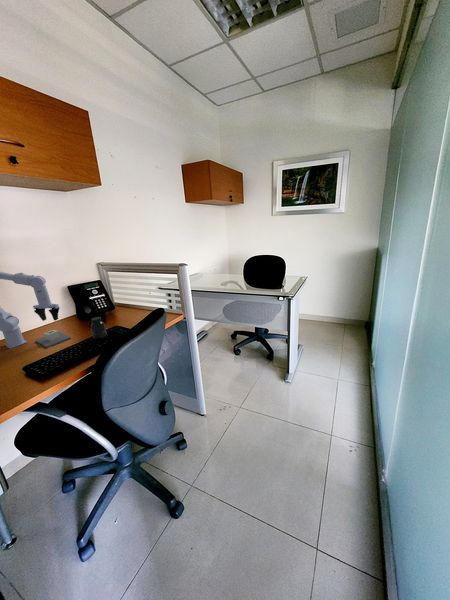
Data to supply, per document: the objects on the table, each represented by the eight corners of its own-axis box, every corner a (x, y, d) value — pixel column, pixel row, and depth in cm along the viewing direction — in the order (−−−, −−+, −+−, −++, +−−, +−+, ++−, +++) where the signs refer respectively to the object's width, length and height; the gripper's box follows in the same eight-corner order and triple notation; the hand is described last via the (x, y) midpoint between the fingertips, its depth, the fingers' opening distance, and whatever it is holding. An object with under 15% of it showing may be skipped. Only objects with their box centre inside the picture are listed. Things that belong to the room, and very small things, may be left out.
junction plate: (35, 341, 135) (33, 333, 134) (59, 333, 145) (56, 325, 143) (47, 348, 126) (44, 339, 125) (70, 338, 136) (68, 330, 134)
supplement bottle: (108, 338, 132) (103, 318, 129) (94, 342, 129) (88, 322, 125) (106, 334, 138) (102, 315, 134) (93, 337, 135) (88, 318, 131)
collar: (45, 339, 134) (43, 333, 133) (54, 336, 138) (52, 329, 137) (51, 341, 132) (48, 334, 131) (60, 337, 136) (58, 330, 135)
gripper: (25, 300, 130) (33, 323, 135) (48, 299, 128) (56, 322, 133) (36, 296, 137) (43, 318, 141) (58, 295, 135) (65, 317, 139)
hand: (50, 320), depth 137 cm, fingers open, 7 cm apart
